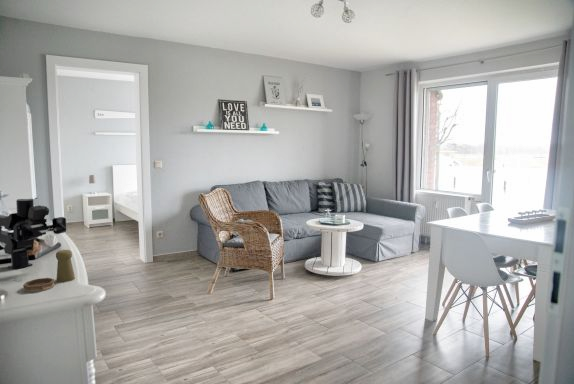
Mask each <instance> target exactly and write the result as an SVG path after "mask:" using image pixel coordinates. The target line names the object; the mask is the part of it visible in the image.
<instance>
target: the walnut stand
mask: <svg viewBox="0 0 574 384" xmlns="http://www.w3.org/2000/svg"><path fill="white" fill-rule="evenodd" d="M54 286H55V279H54V278H50V277H43V278H42V277H41V278H36V279H35V278H34V279H33V280H28V281H26V282H24V284H23V286H22V287H23V290H24V292H25V293H38V292H44V291H48V290H50V289H53V288H54Z"/></svg>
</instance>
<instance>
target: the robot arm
mask: <svg viewBox="0 0 574 384" xmlns="http://www.w3.org/2000/svg"><path fill="white" fill-rule="evenodd" d="M15 201H16V212H13V213H10V214H9V215H4V214H3V215H2V214H0V243H3V244H5V245H4V247H3V250H4V253H5V254H7V255H10V259H11V260H10V261H11V264H10V265H8V266H7V268H9V269H10V268H11V269H15V270H18V269H22V268H27V267H31V266H33V263H31V262H29V251H33V250H34V245H35V239H36V238H39V237H42V236H43V235H46V234H47V233H48V232H52V233H54V234H55V235H61V234H65V233H66V232H67V219H66V218H65V217H64V216H59V217H54V218H52V223H51V224H50V225H49V224H47V218H46V216H48V215H49V214H50V208H49V207H48V206H45V205H34V204H35V201H34V198H18V199H16V200H15ZM2 227H4V229H5V230H3V228H2ZM6 230H7V231H6ZM10 231H11V232H10Z"/></svg>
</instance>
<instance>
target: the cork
mask: <svg viewBox="0 0 574 384" xmlns="http://www.w3.org/2000/svg"><path fill="white" fill-rule="evenodd" d="M72 257H73V253H72V251H71V250H70V249H61V250H57V252H56V253H55V258H56V260H57V267H56V268H57V269H56V283H69V282H72V281H74V280H75V279H76V276H75V272H74V269H73V268H74V267H73V264H72V260H71V258H72Z"/></svg>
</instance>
